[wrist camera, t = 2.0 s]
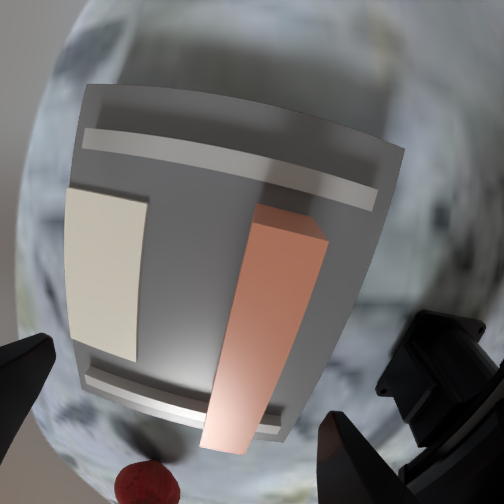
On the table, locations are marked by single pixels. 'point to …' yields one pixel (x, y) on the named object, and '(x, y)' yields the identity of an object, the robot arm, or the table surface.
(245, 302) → the lever
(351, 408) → the table surface
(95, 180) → the box
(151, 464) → the pomegranate
